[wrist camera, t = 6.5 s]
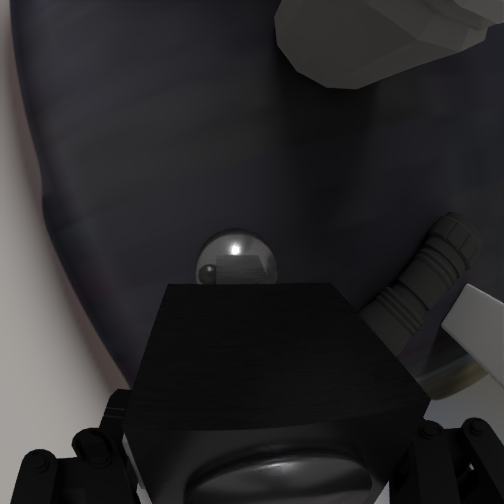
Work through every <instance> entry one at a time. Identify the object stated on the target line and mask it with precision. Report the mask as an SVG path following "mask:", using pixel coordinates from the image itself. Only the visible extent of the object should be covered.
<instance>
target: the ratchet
mask: <svg viewBox="0 0 504 504" xmlns="http://www.w3.org/2000/svg"><path fill="white" fill-rule="evenodd" d="M196 280H197V284H276V280H277V264H276V260H275V258H274V256H273V254H272V252H271V250H270V248H269V247H268V245H267V244H266V242H265V241H264V240H263V239H262V238H261V237H260V236H258V235H257V234H255V233H253V232H251V231H249V230H245V229H239V228H233V229H226V230H223V231H220V232H218V233H216V234H215V235H213V236H212V237H210V238H209V239H208V240H207V241H206V242H205V244H204V245H203V247H202V248H201V250H200V253H199V256H198V261H197V267H196Z"/></svg>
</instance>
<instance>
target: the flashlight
mask: <svg viewBox="0 0 504 504" xmlns="http://www.w3.org/2000/svg"><path fill="white" fill-rule="evenodd" d="M482 245H483V239H482V237H481V235H480V233H479V232H478V230H477V229H476V228H475V227H474V226H473V225H472V224H471V223H470V222H469V221H468V220H467V219H466V218H464V217H463V216H461V215H459V214H457V213H454V212H448V213H447V214H446V216H443V217H440V218H439V220H438V221H437V222H436V224H435V225H434V226H433V228H432V229H431V230H430V231H429V238H428V239H427V240H426V242H425V243H424V244H423V247H424V248H423V249H421V250H419V252H418V254H416V255H415V257H414V260H413V261H412V262H411V264H410V265H409V266H408V267H407V268H406V270H405V271H404V272H403V273H402V274H401V275H400V277H399V278H398V279H397V281H398V284H394V286H393V287H392V288H390V287H384V291H381V292H380V295H378V296H376V300H374V301H373V302H371V303H370V304H369V305H367V306H366V307H364V308H363V309H361V310H360V311H359V312H358V314H359V315H360V316H361V317H362V318H363V320H364V321H365V322H366V323H367V324H368V325H369V326H370V328H371V329H372V330H373V331H374V332H375V333H376V335H377V336H378V337H379V338H380V339H381V340H382V341H383V343H384V344H385V345H386V346H387V347H388V348H389V350H390V351H391V352H392V353H393V354H394V355H395V357H397V356H398V355H399V354H400V353H401V352H402V351H403V349H404V347H405V346H406V344H407V342H408V341H409V339H410V337H411V335H414V334H415V333H416V330H419V328H420V326H422V325H423V324H424V321H423V319H422V317H423V316H424V315H425V314H426V313H425V311H426V310H428V311H430V310H431V309H432V308H433V306H434V305H435V304H436V303H437V302H438V300H439V299H440V298H441V297H442V296H443V294H444V293H445V292H446V291H447V290H449V289H450V288H451V285H452V284H454V283H455V279H456V278H459V277H460V276H461V275H462V273H463V272H464V271H465V270H469V269H470V268H471V267H472V265H473V264H474V262H475V261H476V260H477V258H478V257H479V255H480V254H481V249H480V248H481V247H482Z"/></svg>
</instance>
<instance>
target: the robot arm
mask: <svg viewBox="0 0 504 504" xmlns="http://www.w3.org/2000/svg"><path fill="white" fill-rule="evenodd" d="M131 393H132V390H124V389H117V390H116V391H115V392H114V393H113V394H112V395H111V396H110V398H109V401H108V403H107V406H106V409H105V412H104V416H103V417H102V420H101V423H100V426H99V428H88V429H84V430H82V431H80V432H78V433H77V434H76V435H75V436H74V438H73V440H72V447H73V449H74V451H75V453H76V455H77V457H73V458H59V459H57V458H56V457H55V455H54V454H52V453H51V452H50V451H47V450H44V449H36V450H33V451H30V452H29V453H28V454H26V455H25V457H24V459H23V460H22V463H21V466H20V470H19V473H18V477H17V480H16V483H15V488H14V491H13V495H12V499H11V503H10V504H141V502H140V499H139V496H138V495H137V493H136V491H137V484H138V483H139V485H140V487H141V488H142V489H146V488H145V486H144V483H143V481H142V479H141V476H140V474H139V471H138V469H137V466H136V464H135V461H134V458H133V456H132V453H131V450H130V447H129V445H128V442H127V439H126V436H125V433H124V430H123V427H122V425H123V421H124V418H125V414H126V410H127V407H128V404H129V400H130V397H131ZM470 464H472V466H473V467H474V470H471V468H470V467H469V466H470ZM389 492H390V493H389V495H390V504H504V446H503V444H502V443H501V441H500V440H499V438H498V437H497V435H496V434H495V432H494V431H493V430H492V428H491V427H490V425H489V424H488V423H487V422H486V421H484V420H482V419H480V418H476V417H475V418H469V419H467V420H465V422H464V423H463V425H462V427H461V428H452V429H443V427H442V426H440V425H439V424H438V423H436V422H434V421H430V420H425V419H424V418H422V420H421V423H420V425H419V427H418V429H417V431H416V433H415V435H414V437H413V439H412V440H411V442H410V444H409V446H408V448H407V450H406V452H405V453H404V455H403V457H402V459H401V461H400V462H399V464H398V466H397V468H396V469H395V471H394V473H393V474H392V476H391V478H390V479H389Z"/></svg>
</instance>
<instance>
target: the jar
mask: <svg viewBox="0 0 504 504" xmlns="http://www.w3.org/2000/svg"><path fill="white" fill-rule="evenodd" d="M274 20H275V30H276V39H277V45H278V47H279V48H280V49H281V51H282V52H283V53H284V55H285V56H286V57H287V59H288V60H289V61H290V63H291V64H292V66H293V67H294V68H295V70H296V71H297V72H299V73H301V74H303V75H305V76H307V77H308V78H310V79H312V80H314V81H316V82H317V83H319V84H321V85H323V86H324V87H326V88H343V89H359V88H362V87H364V86H366V85H369V84H371V83H374V82H376V81H379V80H381V79H384V78H386V77H389V76H392V75H394V74H397V73H400V72H402V71H405V70H408V69H410V68H413V67H416V66H419V65H422V64H425V63H427V62H430V61H433V60H436V59H439V58H442V57H446V56H449V55H452V54H455V53H458V52H461V51H463V50H465V49H467V48H469V47H471V46H473V45H475V44H478V43H480V42H482V41H484V40H485V36H486V32H487V28H488V27H489V26H492V25H495V24H499V23H502V22H504V0H282V1H281V3H280V5H279V7H278V10H277V12H276V14H275V16H274Z"/></svg>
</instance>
